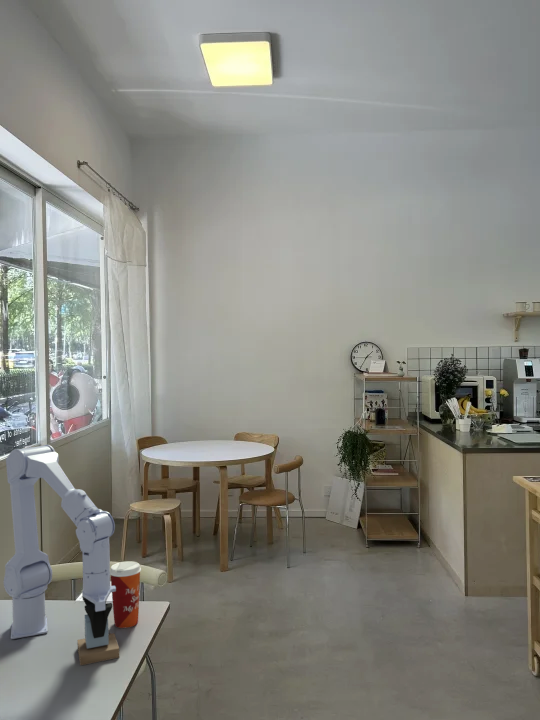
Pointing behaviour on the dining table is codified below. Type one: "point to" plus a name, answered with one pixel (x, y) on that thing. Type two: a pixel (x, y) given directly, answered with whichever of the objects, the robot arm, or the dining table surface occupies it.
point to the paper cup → (125, 593)
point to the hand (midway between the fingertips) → (97, 632)
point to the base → (98, 651)
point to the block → (90, 638)
